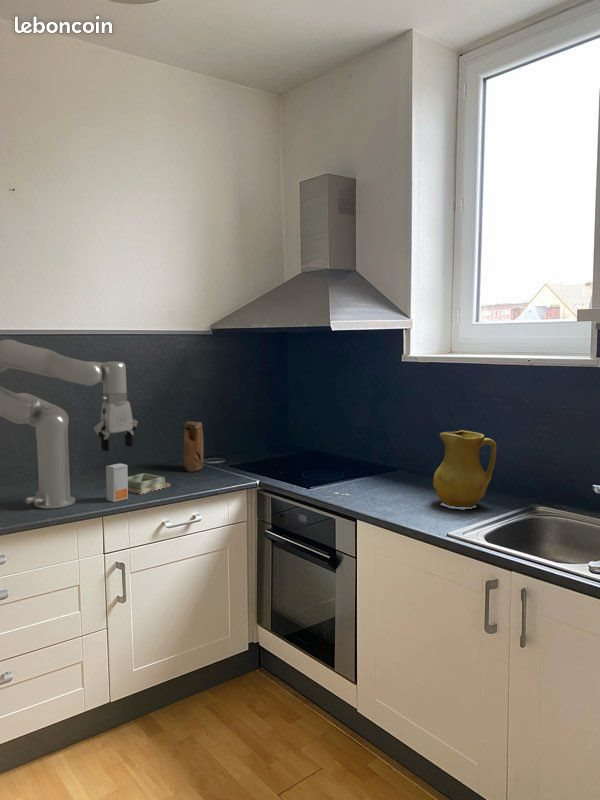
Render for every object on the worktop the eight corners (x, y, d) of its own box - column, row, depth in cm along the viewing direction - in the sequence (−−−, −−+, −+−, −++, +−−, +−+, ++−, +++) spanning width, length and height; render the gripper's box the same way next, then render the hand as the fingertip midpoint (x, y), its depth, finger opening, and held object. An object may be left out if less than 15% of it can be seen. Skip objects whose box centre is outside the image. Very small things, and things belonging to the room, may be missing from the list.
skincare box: (114, 502, 211) (113, 467, 210) (106, 500, 214) (105, 465, 212) (128, 498, 216) (128, 464, 215) (121, 496, 218) (120, 462, 217)
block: (187, 466, 267) (186, 420, 265) (204, 467, 267) (204, 420, 265) (182, 472, 257) (181, 424, 254) (200, 472, 256) (199, 424, 254)
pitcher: (445, 494, 222) (450, 425, 218) (496, 506, 210) (502, 433, 206) (422, 506, 209) (426, 432, 205) (475, 519, 197) (481, 442, 193)
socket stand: (140, 494, 221) (140, 484, 221) (114, 488, 230) (114, 478, 229) (170, 486, 233) (169, 477, 232) (144, 481, 241) (144, 471, 241)
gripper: (100, 401, 202) (103, 453, 204) (143, 396, 216) (144, 445, 218) (86, 400, 206) (89, 451, 208) (128, 395, 220) (130, 443, 222)
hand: (117, 448), depth 213 cm, fingers open, 9 cm apart
